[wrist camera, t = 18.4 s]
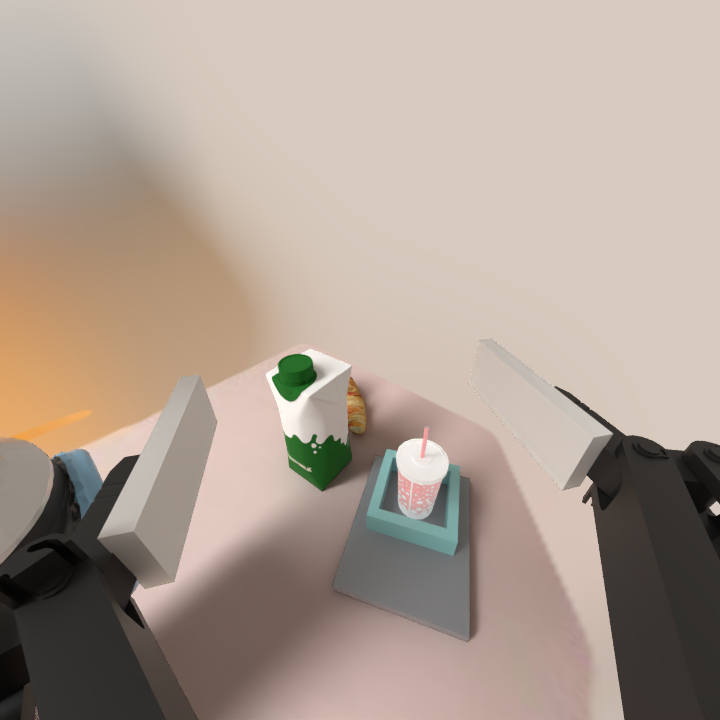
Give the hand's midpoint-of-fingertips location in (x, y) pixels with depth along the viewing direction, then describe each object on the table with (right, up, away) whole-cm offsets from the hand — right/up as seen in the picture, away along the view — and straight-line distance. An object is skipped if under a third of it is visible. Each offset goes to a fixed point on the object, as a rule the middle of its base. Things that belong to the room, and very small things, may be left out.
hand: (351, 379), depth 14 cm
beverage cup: (+8, -18, +25) cm, 32 cm away
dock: (+7, -21, +23) cm, 32 cm away
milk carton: (-6, -16, +32) cm, 36 cm away
